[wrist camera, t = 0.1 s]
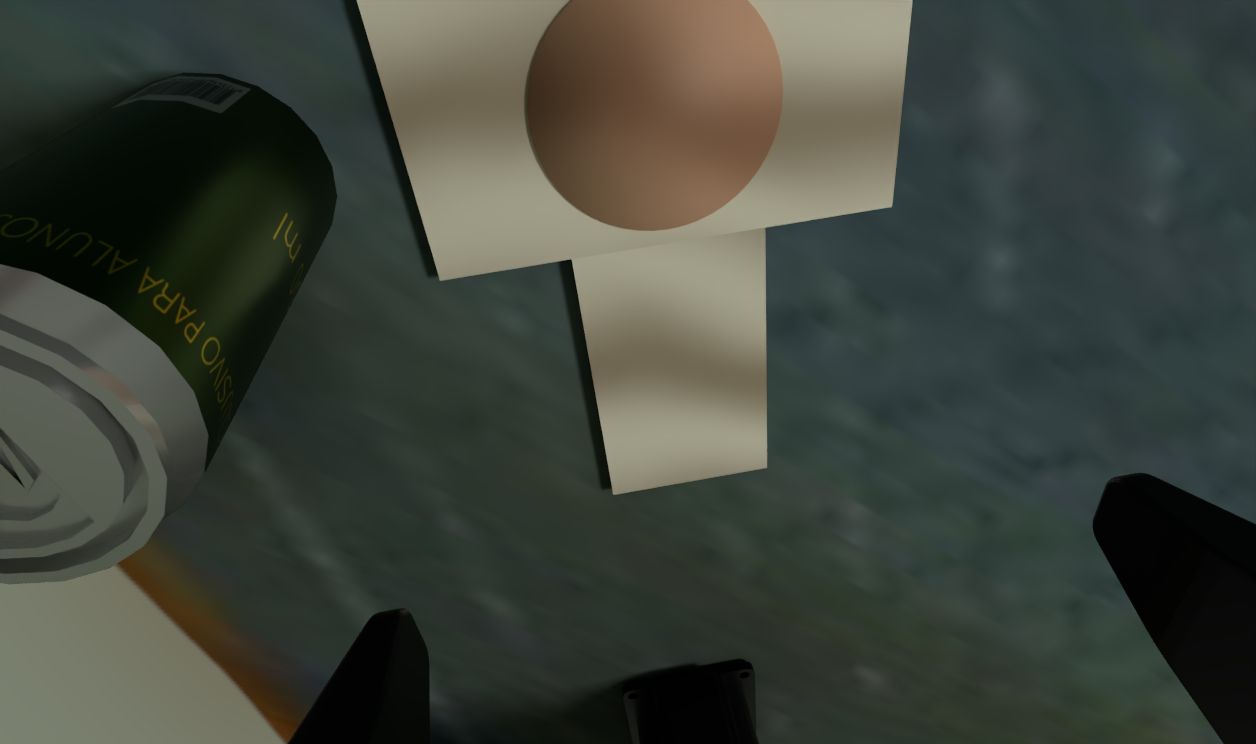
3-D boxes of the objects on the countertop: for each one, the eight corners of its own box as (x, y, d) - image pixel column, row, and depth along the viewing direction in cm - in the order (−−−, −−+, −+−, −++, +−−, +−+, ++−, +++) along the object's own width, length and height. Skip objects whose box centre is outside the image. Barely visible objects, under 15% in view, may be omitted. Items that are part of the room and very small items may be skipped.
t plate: (864, 443, 29) (869, 451, 28) (509, 505, 28) (509, 515, 28) (914, -101, 18) (924, -101, 18) (354, -19, 18) (351, -16, 17)
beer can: (83, 80, 18) (-423, 327, 8) (303, 52, 18) (63, 259, 9) (180, 273, 21) (-105, 619, 11) (366, 247, 21) (245, 563, 12)
